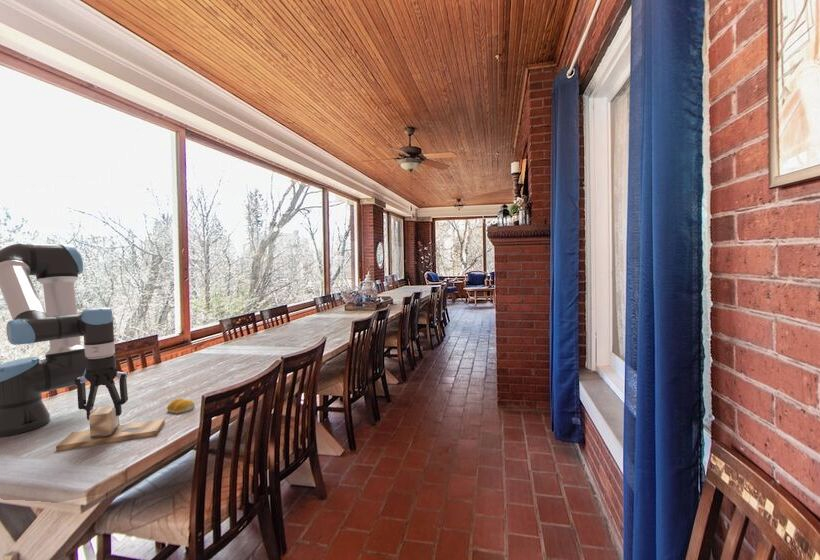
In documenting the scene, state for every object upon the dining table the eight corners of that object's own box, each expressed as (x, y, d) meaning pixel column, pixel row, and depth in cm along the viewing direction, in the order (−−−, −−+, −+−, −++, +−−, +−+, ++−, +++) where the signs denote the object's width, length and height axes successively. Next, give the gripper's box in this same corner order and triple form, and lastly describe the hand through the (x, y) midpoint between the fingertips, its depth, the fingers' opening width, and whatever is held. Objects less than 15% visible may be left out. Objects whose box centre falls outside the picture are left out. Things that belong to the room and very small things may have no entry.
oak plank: (56, 451, 114) (55, 445, 114) (72, 436, 124) (71, 432, 124) (157, 435, 123) (156, 430, 123) (164, 422, 133) (164, 418, 133)
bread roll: (180, 415, 140) (180, 404, 140) (163, 412, 143) (162, 402, 143) (200, 406, 148) (199, 396, 147) (183, 404, 151) (182, 394, 150)
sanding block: (90, 437, 118) (89, 415, 117) (101, 427, 125) (99, 406, 125) (110, 435, 120) (108, 413, 119) (119, 424, 127) (118, 404, 127)
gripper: (58, 362, 115) (64, 437, 116) (129, 355, 121) (134, 427, 122) (71, 356, 122) (76, 427, 123) (137, 350, 128) (142, 418, 129)
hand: (105, 427), depth 122 cm, fingers closed on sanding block, 5 cm apart
